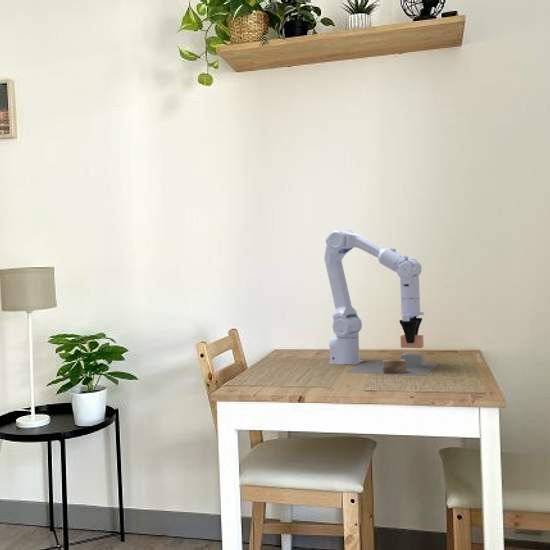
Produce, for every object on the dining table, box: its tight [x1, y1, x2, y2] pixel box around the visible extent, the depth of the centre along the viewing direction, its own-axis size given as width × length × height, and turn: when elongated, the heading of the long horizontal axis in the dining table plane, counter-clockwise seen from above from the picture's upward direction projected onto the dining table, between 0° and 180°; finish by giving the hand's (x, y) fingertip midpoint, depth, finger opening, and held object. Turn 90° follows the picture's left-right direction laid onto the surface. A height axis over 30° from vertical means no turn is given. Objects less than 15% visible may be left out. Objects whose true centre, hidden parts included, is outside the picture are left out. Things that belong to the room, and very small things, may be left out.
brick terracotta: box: [400, 334, 425, 349], centre depth 194 cm, size 6×3×4 cm, turn 66°
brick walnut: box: [382, 358, 406, 375], centre depth 185 cm, size 6×3×4 cm, turn 86°
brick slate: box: [400, 353, 425, 367], centre depth 194 cm, size 6×3×4 cm, turn 66°
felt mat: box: [346, 360, 439, 377], centre depth 193 cm, size 24×20×1 cm
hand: (411, 342), depth 194 cm, fingers closed on brick terracotta, 3 cm apart
